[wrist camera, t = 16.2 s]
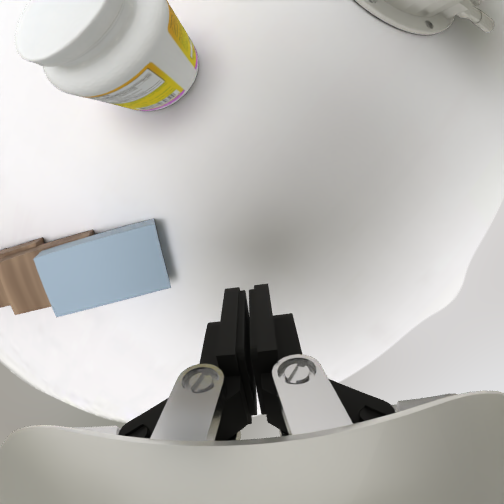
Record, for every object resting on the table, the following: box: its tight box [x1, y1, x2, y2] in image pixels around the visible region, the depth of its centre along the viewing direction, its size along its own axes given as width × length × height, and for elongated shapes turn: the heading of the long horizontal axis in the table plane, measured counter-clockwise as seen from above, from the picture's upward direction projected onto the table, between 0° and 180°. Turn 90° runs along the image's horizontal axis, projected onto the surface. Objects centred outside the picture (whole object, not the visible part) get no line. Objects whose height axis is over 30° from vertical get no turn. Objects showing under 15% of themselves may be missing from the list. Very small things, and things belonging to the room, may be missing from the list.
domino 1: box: [0, 237, 44, 308], centre depth 20 cm, size 2×5×10 cm
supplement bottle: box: [15, 0, 199, 111], centre depth 11 cm, size 7×7×13 cm
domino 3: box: [34, 219, 171, 317], centre depth 20 cm, size 2×5×10 cm
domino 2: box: [0, 230, 94, 315], centre depth 20 cm, size 2×5×10 cm
